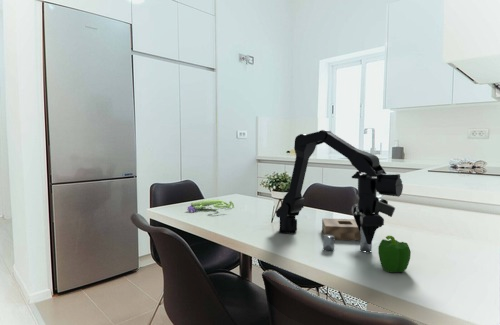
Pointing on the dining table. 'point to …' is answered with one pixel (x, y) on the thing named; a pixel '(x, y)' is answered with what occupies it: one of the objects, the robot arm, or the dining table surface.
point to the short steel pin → (328, 242)
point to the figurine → (209, 202)
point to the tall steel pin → (364, 242)
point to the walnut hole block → (341, 229)
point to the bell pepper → (394, 255)
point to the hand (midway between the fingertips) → (365, 239)
